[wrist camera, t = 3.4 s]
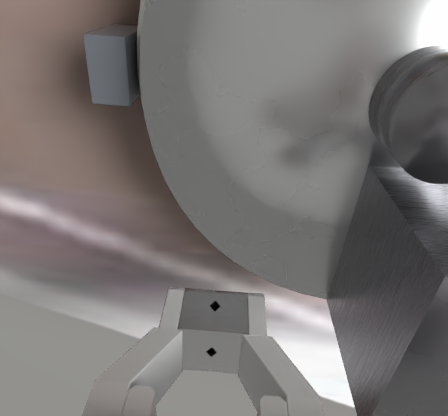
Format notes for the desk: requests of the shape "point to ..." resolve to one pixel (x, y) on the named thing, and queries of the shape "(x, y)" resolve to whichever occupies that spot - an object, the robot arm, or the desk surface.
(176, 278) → the desk surface
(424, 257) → the dial
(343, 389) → the desk surface
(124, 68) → the dial base
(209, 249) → the desk surface
